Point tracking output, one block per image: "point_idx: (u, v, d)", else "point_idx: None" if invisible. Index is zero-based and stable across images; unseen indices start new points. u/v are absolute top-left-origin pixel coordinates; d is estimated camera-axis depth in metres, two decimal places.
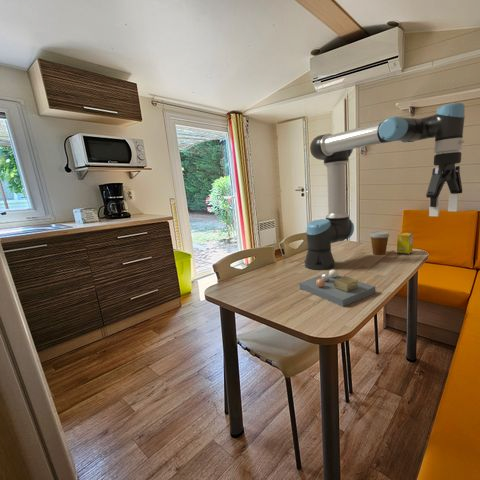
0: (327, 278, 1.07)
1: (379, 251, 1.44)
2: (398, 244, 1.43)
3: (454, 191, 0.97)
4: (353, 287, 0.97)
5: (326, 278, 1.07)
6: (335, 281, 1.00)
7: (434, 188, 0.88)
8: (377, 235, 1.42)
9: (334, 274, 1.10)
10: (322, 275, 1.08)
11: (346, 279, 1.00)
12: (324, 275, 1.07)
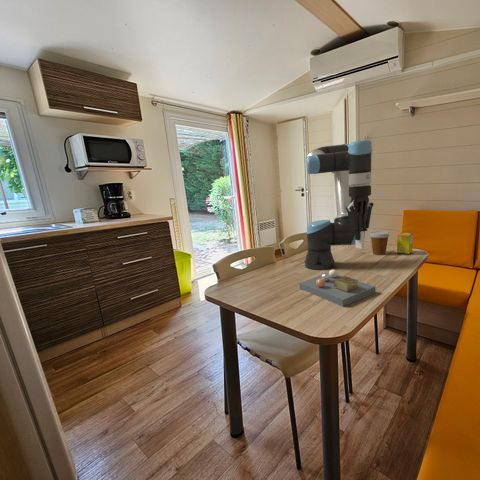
0: (327, 278, 1.07)
1: (379, 251, 1.44)
2: (398, 244, 1.43)
3: (361, 227, 1.00)
4: (353, 287, 0.97)
5: (326, 278, 1.07)
6: (335, 281, 1.00)
7: (354, 225, 0.96)
8: (377, 235, 1.42)
9: (334, 274, 1.10)
10: (322, 275, 1.08)
11: (346, 279, 1.00)
12: (324, 275, 1.07)
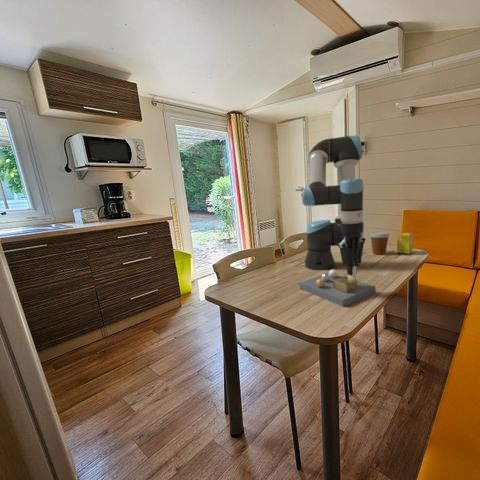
0: (327, 278, 1.07)
1: (379, 251, 1.44)
2: (398, 244, 1.43)
3: None
4: (352, 287, 0.97)
5: (326, 278, 1.07)
6: (334, 281, 1.00)
7: (346, 261, 0.97)
8: (377, 235, 1.42)
9: (334, 274, 1.10)
10: (322, 275, 1.08)
11: (345, 279, 1.00)
12: (324, 275, 1.07)
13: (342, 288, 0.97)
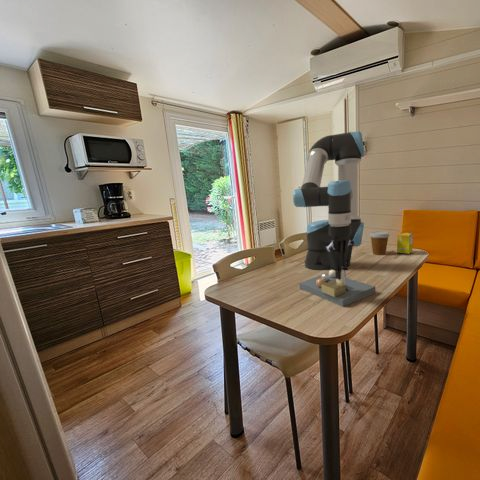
0: (327, 278, 1.07)
1: (379, 251, 1.44)
2: (398, 244, 1.43)
3: (342, 266, 0.97)
4: (341, 292, 0.94)
5: (326, 278, 1.07)
6: (322, 285, 0.97)
7: (334, 265, 0.94)
8: (377, 235, 1.42)
9: (334, 274, 1.10)
10: (322, 275, 1.08)
11: (334, 283, 0.97)
12: (324, 275, 1.07)
13: (330, 293, 0.94)
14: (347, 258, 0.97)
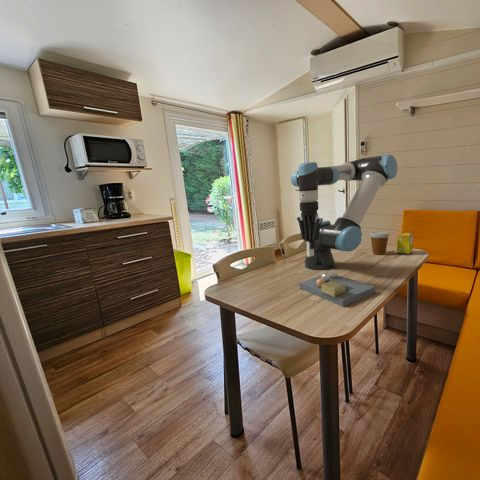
0: (327, 278, 1.07)
1: (379, 251, 1.44)
2: (398, 244, 1.43)
3: None
4: (341, 292, 0.94)
5: (326, 278, 1.07)
6: (322, 286, 0.97)
7: None
8: (377, 235, 1.42)
9: (334, 274, 1.10)
10: (322, 275, 1.08)
11: (334, 283, 0.97)
12: (324, 275, 1.07)
13: (330, 293, 0.94)
14: None
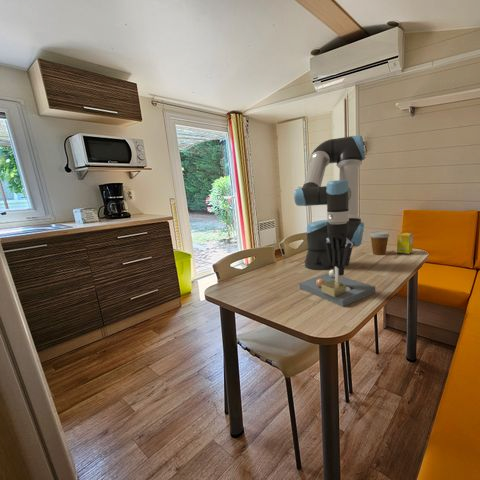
0: None
1: (379, 251, 1.44)
2: (398, 244, 1.43)
3: None
4: (341, 292, 0.94)
5: None
6: (322, 286, 0.97)
7: None
8: (377, 235, 1.42)
9: (334, 274, 1.10)
10: None
11: (334, 283, 0.97)
12: (346, 290, 0.98)
13: (330, 293, 0.94)
14: None
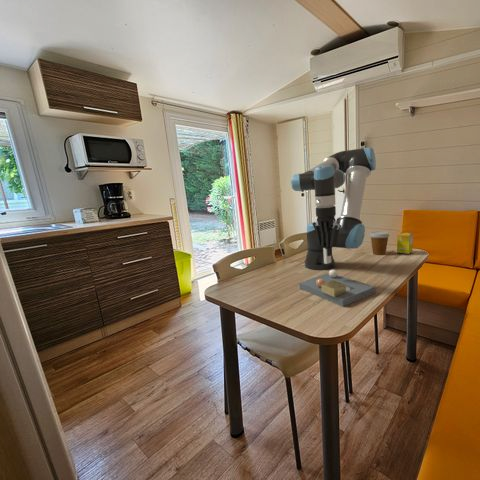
0: None
1: (379, 251, 1.44)
2: (398, 244, 1.43)
3: None
4: (341, 292, 0.94)
5: None
6: (322, 286, 0.97)
7: None
8: (377, 235, 1.42)
9: (334, 274, 1.10)
10: None
11: (334, 283, 0.97)
12: (346, 290, 0.98)
13: (330, 293, 0.94)
14: None
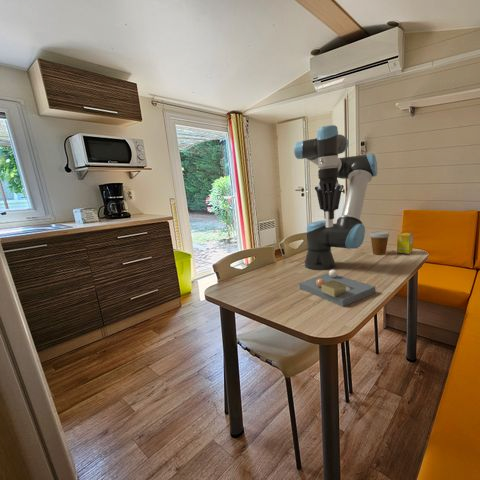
0: None
1: (379, 251, 1.44)
2: (398, 244, 1.43)
3: None
4: (341, 292, 0.94)
5: None
6: (322, 286, 0.97)
7: None
8: (377, 235, 1.42)
9: (334, 274, 1.10)
10: None
11: (334, 283, 0.97)
12: (346, 290, 0.98)
13: (330, 293, 0.94)
14: None
